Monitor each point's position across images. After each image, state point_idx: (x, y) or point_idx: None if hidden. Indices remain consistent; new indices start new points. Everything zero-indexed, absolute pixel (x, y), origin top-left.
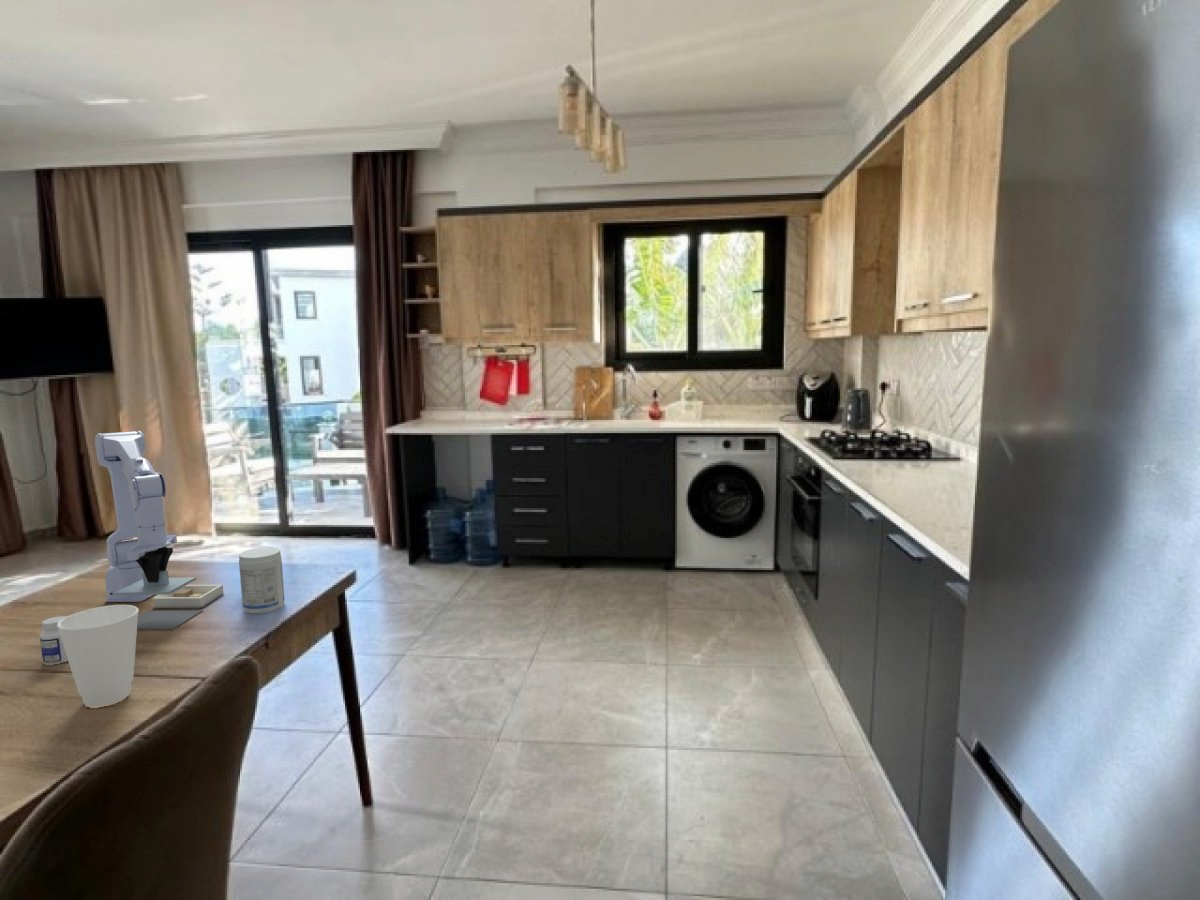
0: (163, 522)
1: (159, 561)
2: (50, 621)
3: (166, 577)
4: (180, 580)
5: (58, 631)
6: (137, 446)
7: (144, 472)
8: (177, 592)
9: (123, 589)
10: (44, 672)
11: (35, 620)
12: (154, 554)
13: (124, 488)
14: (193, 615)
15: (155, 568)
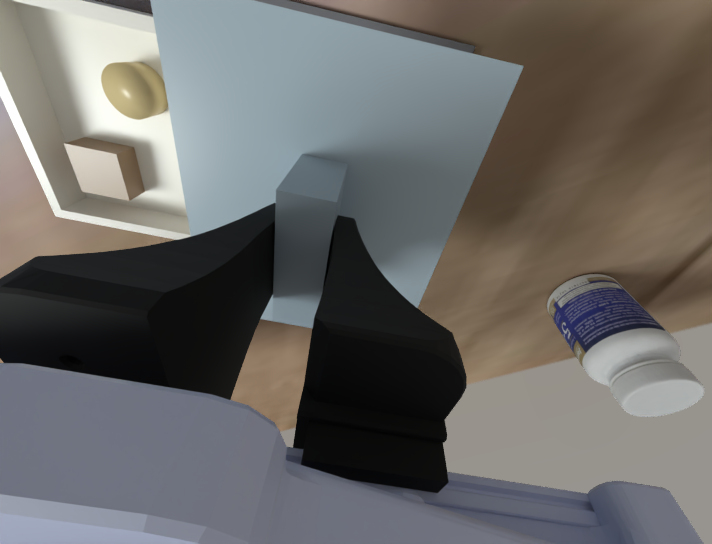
0: None
1: (338, 287)
2: (674, 403)
3: (313, 176)
4: (239, 94)
5: (674, 357)
6: None
7: None
8: (117, 189)
9: None
10: (654, 297)
11: (299, 403)
12: (334, 399)
13: None
14: (315, 11)
15: (378, 271)
